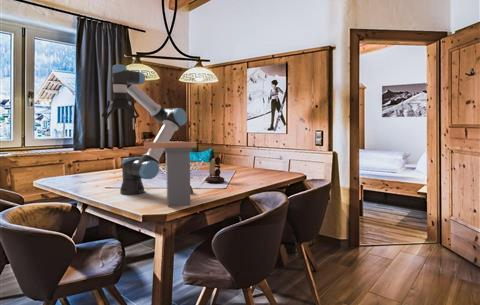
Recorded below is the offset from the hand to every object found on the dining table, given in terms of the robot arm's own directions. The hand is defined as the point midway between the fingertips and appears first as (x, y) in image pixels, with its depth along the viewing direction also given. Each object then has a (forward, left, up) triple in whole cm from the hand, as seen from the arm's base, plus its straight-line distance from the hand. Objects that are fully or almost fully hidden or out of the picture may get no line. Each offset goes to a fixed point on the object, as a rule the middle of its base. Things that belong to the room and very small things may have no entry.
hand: (121, 129), depth 182 cm
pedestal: (+19, +30, -42) cm, 55 cm away
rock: (-7, +37, -42) cm, 57 cm away
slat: (+19, +26, -10) cm, 34 cm away
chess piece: (-40, +64, -42) cm, 87 cm away
